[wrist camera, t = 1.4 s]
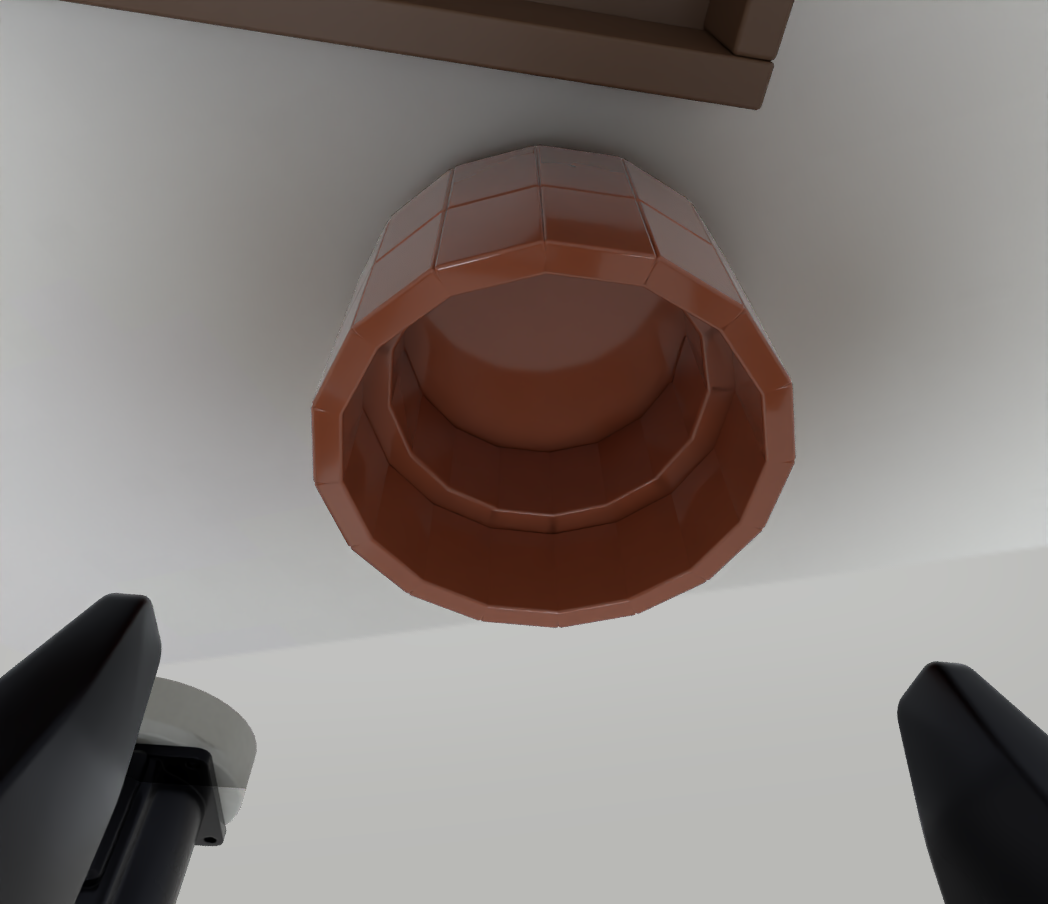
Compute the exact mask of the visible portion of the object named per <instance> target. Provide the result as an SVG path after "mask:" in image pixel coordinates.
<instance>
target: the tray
mask: <svg viewBox="0 0 1048 904" xmlns="http://www.w3.org/2000/svg"><path fill="white" fill-rule="evenodd" d="M60 1H66V2H73V3H79V4H85V5H92V6H98V7H104V8H111V9H117V10H123V11H130V12H136V13H142V14H149V15H155V16H161V17H168V18H174V19H181V20H187V21H193V22H200V23H206V24H212V25H219V26H225V27H231V28H238V29H244V30H250V31H257V32H263V33H269V34H276V35H282V36H288V37H295V38H301V39H308V40H314V41H320V42H327V43H333V44H339V45H346V46H352V47H358V48H365V49H371V50H377V51H384V52H390V53H396V54H403V55H409V56H415V57H422V58H428V59H435V60H441V61H447V62H454V63H460V64H466V65H473V66H479V67H485V68H492V69H498V70H504V71H511V72H517V73H523V74H530V75H536V76H542V77H549V78H555V79H562V80H568V81H574V82H581V83H587V84H593V85H600V86H606V87H612V88H619V89H625V90H631V91H638V92H644V93H650V94H657V95H663V96H669V97H676V98H682V99H688V100H695V101H701V102H708V103H714V104H720V105H727V106H733V107H739V108H746V109H752V110H759V109H760V108H761V106H762V103H763V99H764V96H765V93H766V90H767V87H768V84H769V80H770V77H771V74H772V71H773V68H774V63H772V62H771V60H774V59H775V58H776V56H777V53H778V50H779V47H780V44H781V41H782V37H783V34H784V31H785V28H786V25H787V22H788V18H789V15H790V12H791V9H792V6H793V2H794V0H60Z"/></svg>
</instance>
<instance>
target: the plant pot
mask: <svg viewBox="0 0 1048 904" xmlns="http://www.w3.org/2000/svg"><path fill="white" fill-rule="evenodd" d="M311 425H312V457H313V480H314V482H315V486H316V488H317V490H318V492H319V493H320V495H321V497H322V499H323V501H324V502H325V504H326V506H327V508H328V510H329V511H330V513H331V515H332V517H333V519H334V520H335V522H336V524H337V526H338V528H339V530H340V531H341V533H342V535H343V537H344V539H345V540H346V542H347V544H348V546H351V549H352V550H353V551H354V552H356V553H357V554H358V555H359V556H361V557H362V558H363V559H364V560H366V561H367V562H368V563H369V564H371V565H372V566H373V567H374V568H376V569H377V570H378V571H380V572H381V573H382V574H383V575H385V576H386V577H387V578H388V579H390V580H391V581H392V582H393V583H395V584H396V585H397V586H398V587H400V588H401V589H402V590H403V591H405V592H406V593H409V594H410V595H411V596H414V597H417V598H419V599H422V600H425V601H427V602H430V603H433V604H435V605H438V606H441V607H443V608H446V609H449V610H451V611H454V612H457V613H460V614H462V615H465V616H468V617H470V618H473V619H476V620H481V621H483V622H495V623H507V624H518V625H529V626H541V627H553V628H557V627H558V626H559V627H561V628H562V627H568V626H573V625H579V624H585V623H591V622H596V621H602V620H608V619H614V618H620V617H626V616H632V615H635V613H637V614H639V613H641V612H643V611H645V610H648V609H650V608H652V607H654V606H656V605H658V604H660V603H663V602H665V601H667V600H669V599H671V598H673V597H675V596H677V595H680V594H682V593H684V592H686V591H688V590H690V589H692V588H695V587H697V586H699V585H701V584H703V583H705V582H706V580H710V579H711V578H712V577H713V576H714V575H715V574H716V573H717V572H718V571H719V570H720V569H721V568H723V567H724V566H725V565H726V564H727V563H728V562H729V561H730V560H731V559H732V558H733V557H734V556H735V555H736V554H738V553H739V552H740V551H741V550H742V549H743V548H744V547H745V546H746V545H747V544H748V543H749V542H750V541H752V540H753V539H754V538H755V537H756V536H757V535H758V534H759V533H760V532H761V531H762V529H763V528H764V527H765V525H766V523H767V521H768V519H769V517H770V515H771V513H772V510H773V508H774V506H775V504H776V502H777V500H778V497H779V495H780V493H781V491H782V489H783V487H784V485H785V482H786V480H787V478H788V476H789V474H790V472H791V469H792V467H793V465H794V462H795V461H794V460H795V458H796V450H795V426H794V402H793V384H792V382H791V378H790V376H789V374H788V372H787V370H786V368H785V367H784V365H783V363H782V361H781V359H780V357H779V355H778V354H777V352H776V350H775V348H774V346H773V344H772V342H771V341H770V339H769V337H768V335H767V333H766V331H765V330H764V328H763V326H762V324H761V322H760V320H759V318H758V317H757V315H756V313H755V311H754V309H753V307H752V305H751V304H750V302H749V300H748V298H747V296H746V294H745V292H744V291H743V289H742V287H741V285H740V283H739V281H738V279H737V278H736V276H735V274H734V272H733V270H732V268H731V267H730V265H729V263H728V261H727V259H726V258H725V256H724V254H723V253H722V251H721V250H720V248H719V246H718V245H717V243H716V241H715V240H714V238H713V237H712V235H711V233H710V232H709V230H708V228H707V227H706V225H705V224H704V222H703V220H702V219H701V217H700V215H699V214H698V212H697V211H696V209H695V207H694V206H693V205H692V204H691V203H690V202H689V200H688V199H687V198H685V197H684V196H682V195H681V194H679V193H677V192H676V191H674V190H673V189H671V188H670V187H668V186H667V185H665V184H663V183H662V182H660V181H659V180H657V179H656V178H654V177H652V176H651V175H649V174H648V173H646V172H645V171H643V170H642V169H640V168H638V167H637V166H635V165H634V164H632V163H631V162H629V161H628V160H626V159H621V157H619V156H612V155H605V154H599V153H592V152H585V151H578V150H572V149H565V148H558V147H551V146H545V145H537V147H536V146H530V147H526V148H522V149H518V150H515V151H511V152H507V153H503V154H499V155H496V156H492V157H488V158H484V159H481V160H477V161H473V162H469V163H466V164H462V165H458V166H456V167H455V168H454V169H450V170H448V171H447V172H446V173H444V174H443V175H442V176H441V177H439V178H438V179H437V180H436V181H434V182H433V183H432V184H431V185H429V186H428V187H427V188H426V189H424V190H423V191H422V192H421V193H419V194H418V195H417V196H416V197H414V198H413V199H412V200H411V201H409V202H408V203H407V204H406V205H404V206H403V207H402V208H401V209H399V210H398V211H397V212H396V213H394V214H393V215H392V217H391V219H390V220H389V221H388V222H387V223H386V225H385V227H384V229H383V231H382V233H381V235H380V237H379V239H378V241H377V243H376V245H375V247H374V249H373V251H372V253H371V255H370V257H369V259H368V262H367V264H366V266H365V268H364V270H363V272H362V274H361V276H360V278H359V280H358V282H357V285H356V287H355V290H354V293H353V295H352V298H351V301H350V303H349V306H348V309H347V311H346V314H345V317H344V319H343V322H342V325H341V327H340V330H339V333H338V335H337V338H336V340H335V343H334V346H333V348H332V351H331V354H330V356H329V359H328V362H327V364H326V367H325V370H324V372H323V375H322V378H321V380H320V383H319V386H318V388H317V391H316V394H315V396H314V399H313V402H312V407H311Z"/></svg>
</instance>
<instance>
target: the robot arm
mask: <svg viewBox="0 0 1048 904" xmlns="http://www.w3.org/2000/svg"><path fill="white" fill-rule="evenodd" d="M160 657H161V640H160V635H159V631H158V627H157V622H156V618H155V614H154V609H153V605H152V603H151V600H150V599H149V598H148V597H147V596H143V595H135V594H123V593H111V594H108V595H106V596H104V597H102V598H101V599H99V600H98V601H97V602H95V603H94V604H93V605H92V606H90V607H89V608H88V609H87V610H85V611H84V612H83V613H82V614H80V615H79V616H78V617H77V618H75V619H74V620H73V621H71V622H70V623H69V624H68V625H66V626H65V627H64V628H63V629H61V630H60V631H59V632H58V633H56V634H55V635H54V636H53V637H51V638H50V639H49V640H47V641H46V642H45V643H44V644H42V645H41V646H40V647H39V648H37V649H36V650H35V651H34V652H32V653H31V654H30V655H29V656H27V657H26V658H25V659H24V660H22V661H21V662H20V663H18V664H17V665H16V666H15V667H13V668H12V669H11V670H10V671H8V672H7V673H6V674H5V675H3V676H2V677H1V678H0V904H175V903H176V900H177V897H178V894H179V891H180V888H181V885H182V882H183V879H184V876H185V873H186V870H187V866H188V863H189V861H190V857H191V854H192V851H193V848H194V845H202V846H217V845H221V844H222V843H223V841H224V837H225V834H226V826H225V821H224V816H223V811H222V806H221V801H220V795H219V790H218V785H217V780H216V775H215V770H214V764H213V759H212V755H211V753H210V752H208V751H207V750H205V749H202V748H198V747H186V746H171V745H156V744H141V743H136V740H137V736H138V733H139V730H140V726H141V723H142V720H143V716H144V713H145V710H146V706H147V703H148V700H149V696H150V693H151V690H152V686H153V683H154V680H155V676H156V673H157V670H158V666H159V662H160ZM897 715H898V723H899V728H900V732H901V737H902V741H903V746H904V750H905V755H906V759H907V764H908V768H909V773H910V777H911V782H912V786H913V791H914V795H915V800H916V804H917V809H918V813H919V818H920V822H921V826H922V830H923V834H924V838H925V842H926V846H927V849H928V853H929V856H930V859H931V863H932V866H933V869H934V872H935V875H936V878H937V881H938V884H939V887H940V890H941V893H942V896H943V900H944V902H945V904H1048V735H1047V734H1046V733H1045V732H1044V731H1043V730H1041V729H1040V728H1039V727H1038V726H1037V725H1036V724H1034V723H1033V722H1032V721H1031V720H1030V719H1029V718H1027V717H1026V716H1025V715H1024V714H1023V713H1022V712H1021V711H1020V710H1019V709H1017V708H1016V707H1015V706H1014V705H1013V704H1012V703H1011V702H1009V701H1008V700H1007V699H1006V698H1005V697H1004V696H1003V695H1001V694H1000V693H999V692H998V691H997V690H996V689H995V688H993V687H992V686H991V685H990V684H989V683H988V682H987V681H986V680H984V679H983V678H982V677H981V676H980V675H979V674H977V673H976V672H975V671H974V670H973V669H971V668H970V667H968V666H966V665H963V664H959V663H948V662H938V661H937V662H931V663H929V664H927V665H926V666H925V667H924V668H923V670H922V671H921V672H920V673H919V675H918V676H917V677H916V679H915V680H914V681H913V683H912V684H911V685H910V687H909V688H908V689H907V691H906V692H905V693H904V695H903V696H902V698H901V699H900V701H899V704H898V711H897Z"/></svg>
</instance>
